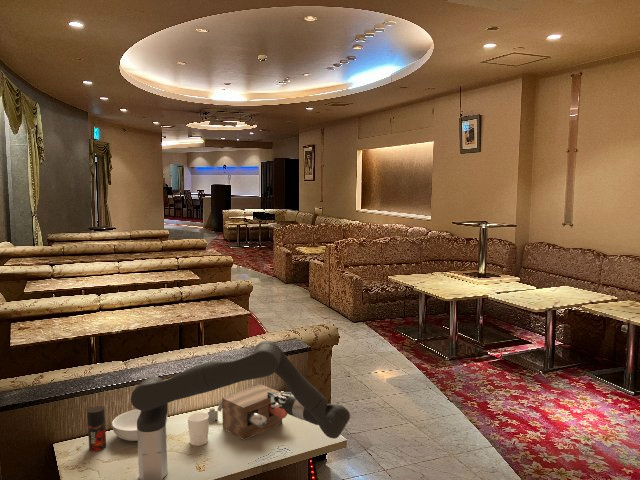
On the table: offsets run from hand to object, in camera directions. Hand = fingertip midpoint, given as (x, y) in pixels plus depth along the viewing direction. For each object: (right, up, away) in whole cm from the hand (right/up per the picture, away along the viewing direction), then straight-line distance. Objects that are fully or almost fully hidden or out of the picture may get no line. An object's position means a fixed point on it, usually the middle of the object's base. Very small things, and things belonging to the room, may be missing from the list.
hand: (268, 394), depth 185 cm
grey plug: (-6, -14, +7) cm, 17 cm away
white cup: (-27, -20, +4) cm, 34 cm away
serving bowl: (-52, -20, +11) cm, 57 cm away
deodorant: (-65, -21, +1) cm, 68 cm away
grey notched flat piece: (-25, -18, +23) cm, 38 cm away
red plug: (+1, -13, +15) cm, 20 cm away
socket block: (-8, -18, +17) cm, 27 cm away
